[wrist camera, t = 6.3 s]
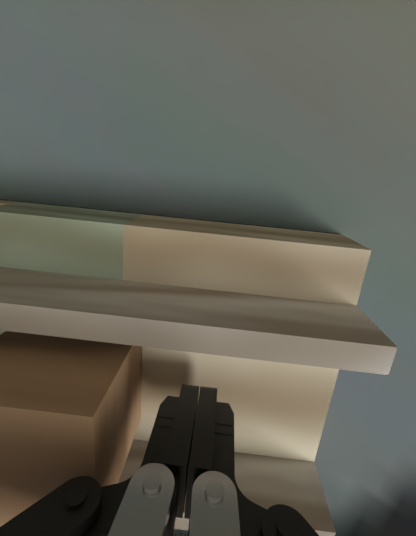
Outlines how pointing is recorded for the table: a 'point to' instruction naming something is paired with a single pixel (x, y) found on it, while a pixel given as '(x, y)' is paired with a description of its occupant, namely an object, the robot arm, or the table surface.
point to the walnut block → (63, 414)
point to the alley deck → (205, 324)
